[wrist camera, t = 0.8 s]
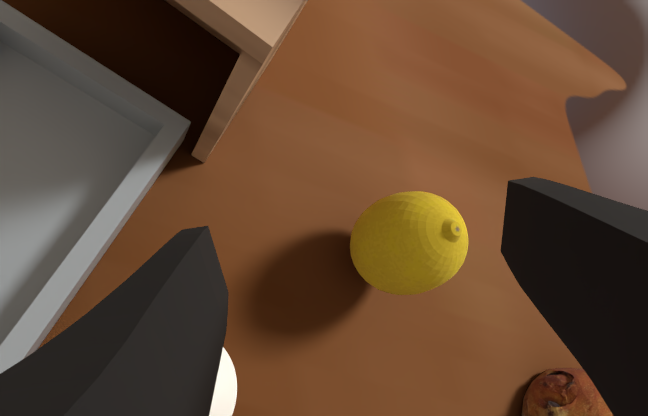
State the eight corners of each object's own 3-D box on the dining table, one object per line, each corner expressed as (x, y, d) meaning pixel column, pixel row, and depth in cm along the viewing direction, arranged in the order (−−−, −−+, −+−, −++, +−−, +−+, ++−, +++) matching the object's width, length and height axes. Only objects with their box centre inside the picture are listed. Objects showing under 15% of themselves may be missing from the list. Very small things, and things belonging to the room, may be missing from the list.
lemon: (331, 302, 24) (420, 292, 17) (323, 211, 26) (402, 168, 19) (406, 295, 27) (510, 284, 20) (395, 212, 28) (488, 175, 21)
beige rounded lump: (170, 443, 19) (196, 492, 13) (76, 406, 18) (61, 443, 12) (217, 350, 21) (258, 358, 15) (135, 310, 20) (146, 304, 14)
